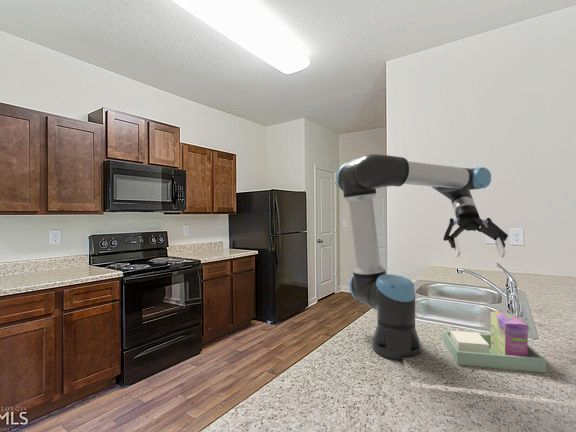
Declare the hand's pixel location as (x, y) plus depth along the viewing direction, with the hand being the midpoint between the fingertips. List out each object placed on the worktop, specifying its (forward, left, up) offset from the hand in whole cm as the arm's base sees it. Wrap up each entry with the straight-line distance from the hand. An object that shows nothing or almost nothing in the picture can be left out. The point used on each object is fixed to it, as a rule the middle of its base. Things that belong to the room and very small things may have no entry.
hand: (480, 254), depth 103 cm
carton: (-8, -13, -29) cm, 33 cm away
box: (+3, -13, -29) cm, 32 cm away
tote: (-2, -13, -30) cm, 33 cm away
